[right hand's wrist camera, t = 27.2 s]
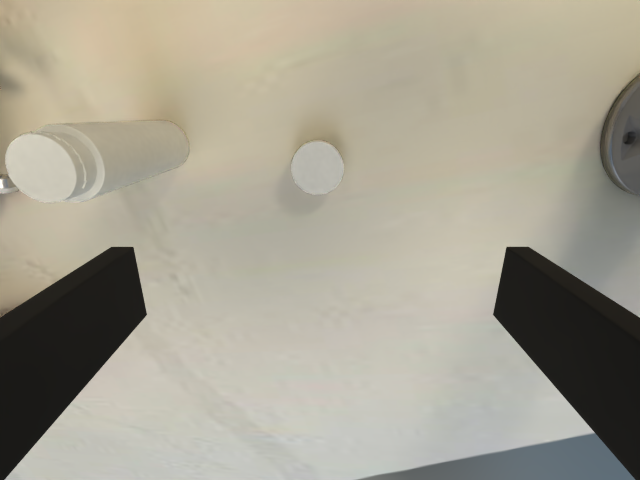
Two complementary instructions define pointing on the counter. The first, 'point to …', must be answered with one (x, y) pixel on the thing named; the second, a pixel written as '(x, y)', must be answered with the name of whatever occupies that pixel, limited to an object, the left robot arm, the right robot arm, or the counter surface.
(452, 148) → the counter surface
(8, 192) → the left robot arm
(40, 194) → the jar
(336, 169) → the white cylinder
